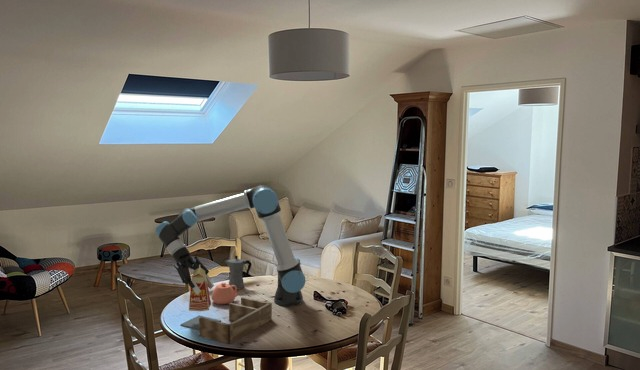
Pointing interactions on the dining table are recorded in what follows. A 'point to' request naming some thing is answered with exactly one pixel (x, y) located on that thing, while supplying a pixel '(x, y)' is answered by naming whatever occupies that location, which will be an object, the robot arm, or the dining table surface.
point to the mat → (195, 322)
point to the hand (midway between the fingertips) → (205, 290)
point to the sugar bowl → (224, 294)
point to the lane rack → (237, 321)
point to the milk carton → (203, 298)
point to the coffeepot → (237, 271)
